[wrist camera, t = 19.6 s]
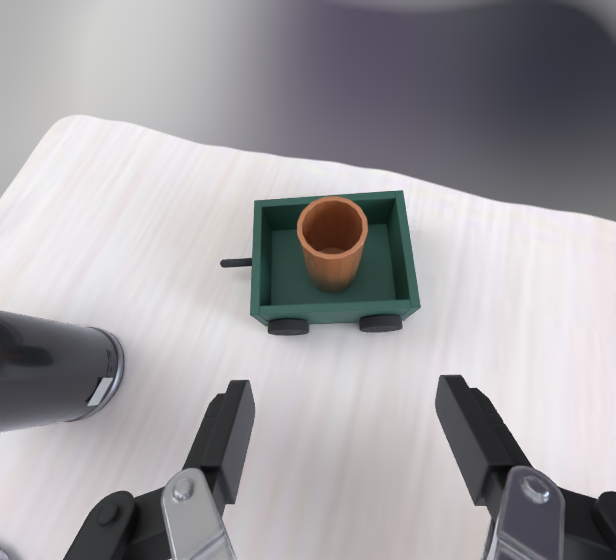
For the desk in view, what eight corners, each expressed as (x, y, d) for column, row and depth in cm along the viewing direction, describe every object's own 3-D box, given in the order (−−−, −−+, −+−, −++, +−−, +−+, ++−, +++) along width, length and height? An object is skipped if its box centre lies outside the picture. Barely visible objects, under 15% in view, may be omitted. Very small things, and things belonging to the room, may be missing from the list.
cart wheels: (229, 337, 31) (213, 332, 27) (236, 222, 35) (223, 202, 31) (397, 331, 30) (408, 324, 25) (383, 213, 34) (390, 190, 30)
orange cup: (308, 294, 30) (297, 260, 21) (306, 247, 32) (296, 198, 23) (359, 291, 30) (370, 256, 21) (355, 244, 32) (364, 193, 23)
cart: (265, 325, 31) (249, 315, 25) (267, 229, 34) (254, 200, 29) (404, 320, 30) (421, 307, 24) (391, 221, 33) (403, 189, 28)
